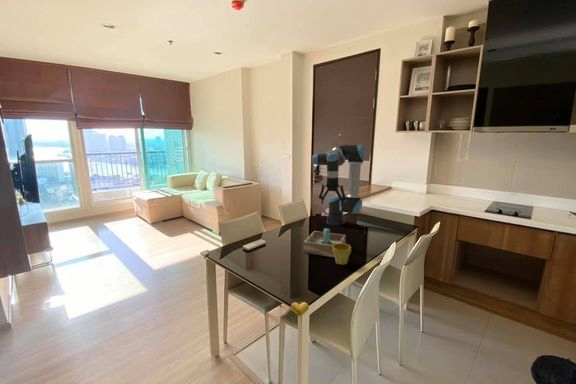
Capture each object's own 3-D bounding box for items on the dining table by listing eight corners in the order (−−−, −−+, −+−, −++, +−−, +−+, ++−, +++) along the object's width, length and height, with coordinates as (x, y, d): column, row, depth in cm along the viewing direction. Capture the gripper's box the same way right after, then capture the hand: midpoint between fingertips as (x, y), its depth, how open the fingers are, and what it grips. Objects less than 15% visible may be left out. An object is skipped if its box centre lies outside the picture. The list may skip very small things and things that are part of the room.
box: (314, 240, 193) (314, 230, 192) (345, 244, 185) (345, 234, 184) (303, 252, 173) (303, 241, 172) (338, 258, 165) (338, 247, 164)
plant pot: (339, 268, 153) (340, 251, 151) (328, 260, 162) (329, 245, 160) (354, 264, 157) (354, 248, 155) (342, 257, 166) (343, 241, 164)
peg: (322, 247, 181) (322, 230, 178) (324, 245, 184) (324, 228, 182) (328, 248, 179) (329, 230, 177) (330, 246, 183) (330, 228, 180)
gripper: (313, 177, 179) (313, 209, 184) (349, 178, 170) (348, 212, 175) (317, 175, 186) (317, 206, 191) (351, 176, 177) (350, 209, 182)
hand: (332, 209), depth 183 cm, fingers open, 10 cm apart
